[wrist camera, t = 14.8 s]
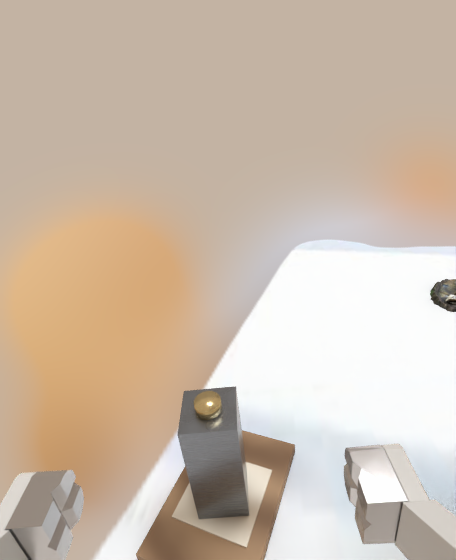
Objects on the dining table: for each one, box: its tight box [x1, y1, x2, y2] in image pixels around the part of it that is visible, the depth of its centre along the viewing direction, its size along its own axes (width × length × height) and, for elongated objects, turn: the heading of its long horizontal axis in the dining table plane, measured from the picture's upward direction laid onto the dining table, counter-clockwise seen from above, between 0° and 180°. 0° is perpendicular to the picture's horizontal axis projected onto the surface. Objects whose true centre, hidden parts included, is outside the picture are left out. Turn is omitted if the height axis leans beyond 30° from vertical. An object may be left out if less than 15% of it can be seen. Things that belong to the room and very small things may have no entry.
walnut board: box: [136, 431, 295, 560], centre depth 38 cm, size 16×11×1 cm
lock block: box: [178, 387, 249, 519], centre depth 34 cm, size 5×5×13 cm
